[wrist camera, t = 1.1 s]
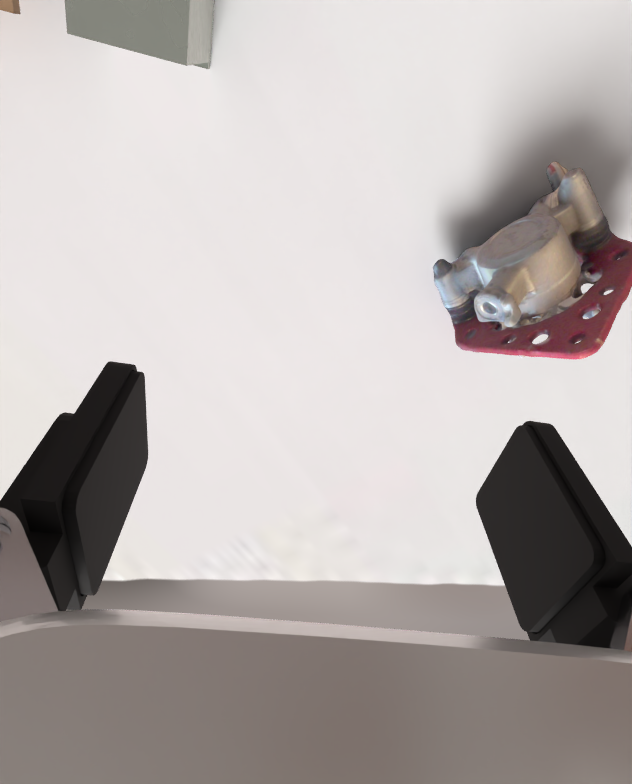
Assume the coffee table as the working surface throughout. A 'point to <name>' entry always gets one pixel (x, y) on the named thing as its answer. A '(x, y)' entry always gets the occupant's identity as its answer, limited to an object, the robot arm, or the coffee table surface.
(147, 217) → the coffee table surface
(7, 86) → the coffee table surface
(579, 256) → the brake caliper
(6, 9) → the stand
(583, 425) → the coffee table surface
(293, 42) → the coffee table surface
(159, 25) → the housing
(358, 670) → the robot arm
